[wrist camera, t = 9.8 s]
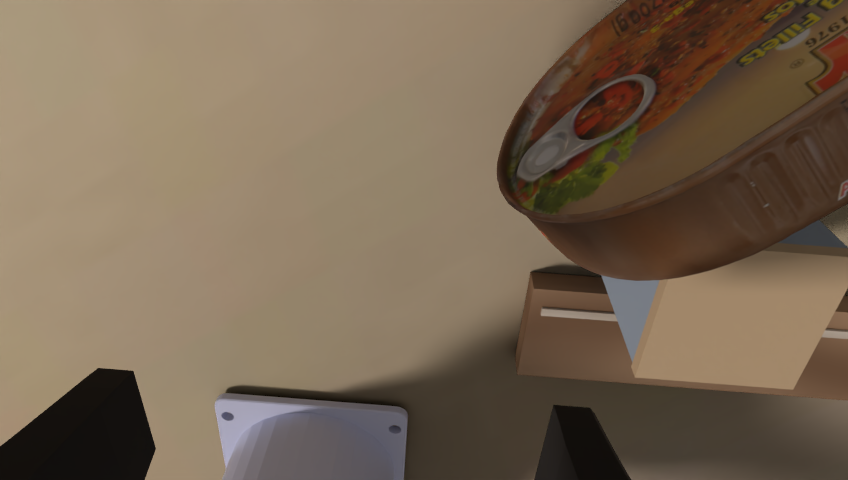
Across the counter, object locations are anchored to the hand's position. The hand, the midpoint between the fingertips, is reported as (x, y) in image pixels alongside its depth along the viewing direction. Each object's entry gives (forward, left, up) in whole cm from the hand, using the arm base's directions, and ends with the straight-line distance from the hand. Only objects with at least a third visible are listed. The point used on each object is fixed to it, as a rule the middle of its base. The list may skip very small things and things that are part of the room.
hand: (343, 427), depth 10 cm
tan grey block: (0, -9, -11) cm, 14 cm away
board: (-5, -12, -10) cm, 17 cm away
